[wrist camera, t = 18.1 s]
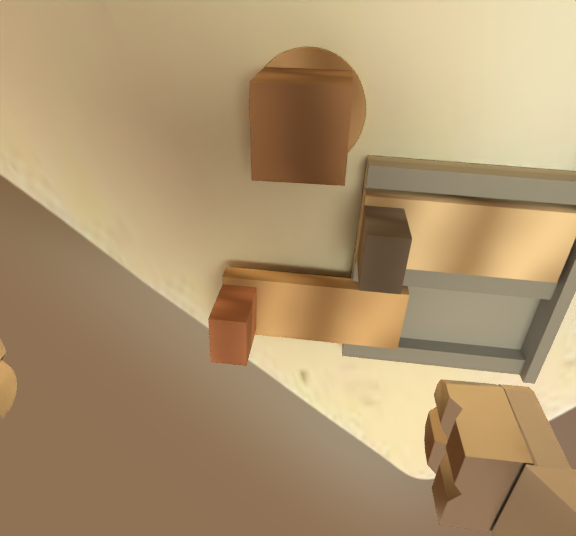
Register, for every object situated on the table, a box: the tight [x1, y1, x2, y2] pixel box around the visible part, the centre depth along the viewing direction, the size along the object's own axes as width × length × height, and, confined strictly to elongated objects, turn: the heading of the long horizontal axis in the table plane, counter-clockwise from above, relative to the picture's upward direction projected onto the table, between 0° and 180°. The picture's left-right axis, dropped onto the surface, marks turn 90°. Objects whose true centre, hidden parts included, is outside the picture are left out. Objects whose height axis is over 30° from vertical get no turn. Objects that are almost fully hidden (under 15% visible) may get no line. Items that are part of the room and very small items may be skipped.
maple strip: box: [356, 188, 576, 295], centre depth 28 cm, size 13×5×5 cm, turn 87°
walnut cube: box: [250, 67, 353, 186], centre depth 26 cm, size 5×5×5 cm
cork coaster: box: [249, 47, 366, 151], centre depth 28 cm, size 7×7×1 cm
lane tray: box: [342, 155, 576, 384], centre depth 32 cm, size 14×15×3 cm
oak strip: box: [208, 267, 409, 366], centre depth 32 cm, size 13×5×5 cm, turn 87°
